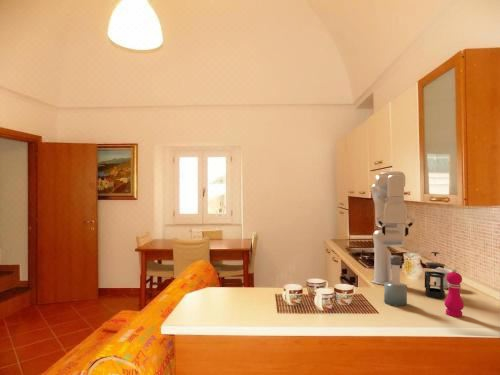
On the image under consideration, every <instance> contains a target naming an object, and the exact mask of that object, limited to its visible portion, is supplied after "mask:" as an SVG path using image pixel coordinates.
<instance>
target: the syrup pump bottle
mask: <svg viewBox="0 0 500 375" xmlns="http://www.w3.org/2000/svg"><path fill="white" fill-rule="evenodd" d="M400 275H401V265H394V264H391V280H392V282H385V283H384V285H383V288H384V290H383V292H384V295H383V302H385V304H386V305H388V306H391V305H392V307H398V306H403V307H406V306H408V302H407V301H408V285H407V284H405V283H402V282H401V281H400V280H401V279H400V278H401V276H400Z"/></svg>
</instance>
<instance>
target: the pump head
mask: <svg viewBox="0 0 500 375" xmlns="http://www.w3.org/2000/svg"><path fill="white" fill-rule="evenodd" d="M390 264H391V265H392V264H394V265H400V266H401V265H402V256H400V255H396V254H394V255H391V256H390Z"/></svg>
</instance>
